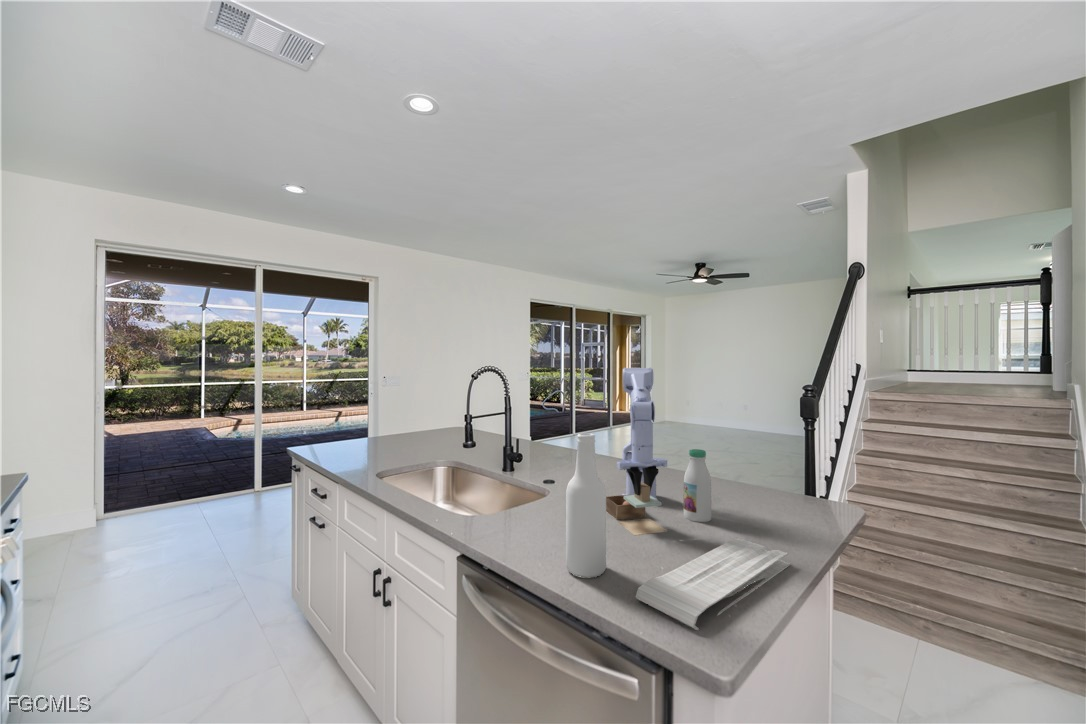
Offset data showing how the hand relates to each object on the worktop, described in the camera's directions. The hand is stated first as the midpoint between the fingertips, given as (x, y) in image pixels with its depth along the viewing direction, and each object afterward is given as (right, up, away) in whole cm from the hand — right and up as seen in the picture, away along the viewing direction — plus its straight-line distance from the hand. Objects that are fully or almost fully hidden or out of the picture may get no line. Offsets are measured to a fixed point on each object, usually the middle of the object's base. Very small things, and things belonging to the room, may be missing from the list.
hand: (642, 493), depth 122 cm
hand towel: (+10, -10, -30) cm, 33 cm away
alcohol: (-18, -10, -25) cm, 32 cm away
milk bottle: (+18, -10, +7) cm, 21 cm away
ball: (-2, -9, +13) cm, 16 cm away
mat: (0, -9, 0) cm, 9 cm away
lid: (0, -2, 0) cm, 2 cm away
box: (-3, -9, +11) cm, 14 cm away
